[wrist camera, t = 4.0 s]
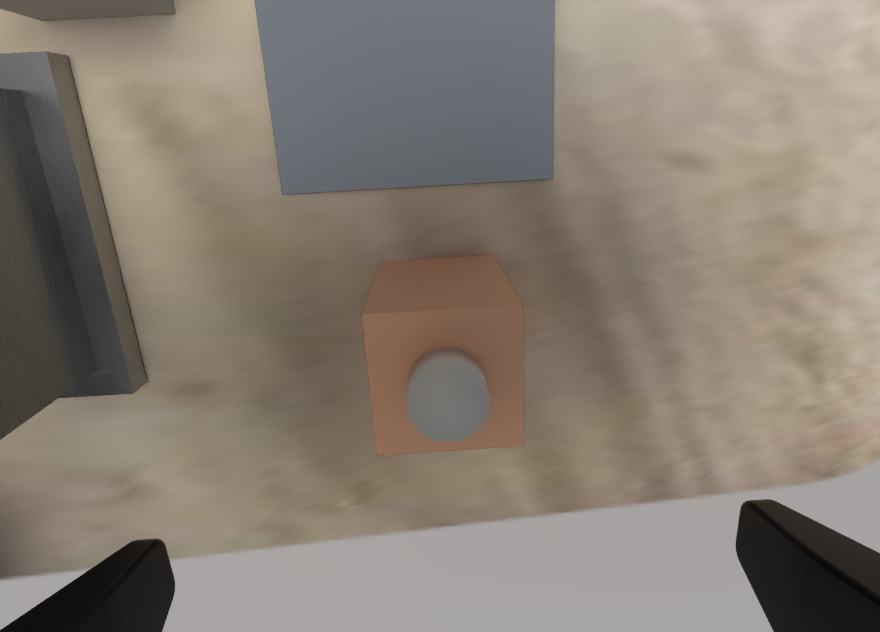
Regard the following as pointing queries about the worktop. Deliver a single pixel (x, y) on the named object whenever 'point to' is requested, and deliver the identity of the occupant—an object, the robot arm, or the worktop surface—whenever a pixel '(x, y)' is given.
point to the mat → (408, 91)
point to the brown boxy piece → (444, 355)
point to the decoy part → (87, 8)
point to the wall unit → (55, 251)
